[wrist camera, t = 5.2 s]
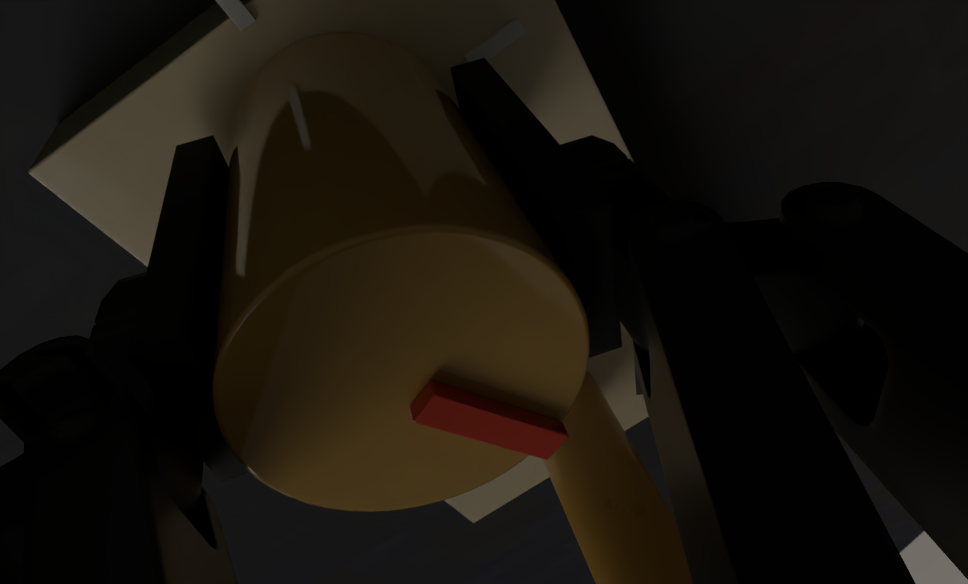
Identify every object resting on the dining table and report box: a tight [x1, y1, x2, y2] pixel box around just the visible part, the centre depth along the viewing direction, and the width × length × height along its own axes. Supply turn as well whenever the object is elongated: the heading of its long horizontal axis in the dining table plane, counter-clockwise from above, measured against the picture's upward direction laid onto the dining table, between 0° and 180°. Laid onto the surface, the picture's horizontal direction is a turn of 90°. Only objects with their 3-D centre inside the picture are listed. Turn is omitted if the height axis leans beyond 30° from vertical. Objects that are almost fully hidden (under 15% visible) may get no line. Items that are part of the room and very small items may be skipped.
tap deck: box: [28, 0, 648, 523], centre depth 19 cm, size 19×11×3 cm, turn 30°
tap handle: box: [212, 33, 590, 512], centre depth 12 cm, size 5×5×8 cm
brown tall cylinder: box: [542, 371, 693, 584], centre depth 18 cm, size 3×3×12 cm
